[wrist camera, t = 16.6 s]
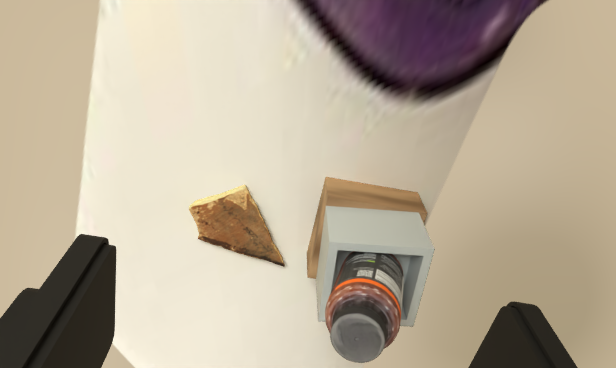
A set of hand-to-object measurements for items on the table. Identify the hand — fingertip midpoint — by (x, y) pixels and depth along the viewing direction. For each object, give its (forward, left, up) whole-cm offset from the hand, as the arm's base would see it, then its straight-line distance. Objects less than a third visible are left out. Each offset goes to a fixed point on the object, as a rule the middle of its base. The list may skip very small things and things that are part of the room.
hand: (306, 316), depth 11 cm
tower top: (+18, +11, -30) cm, 37 cm away
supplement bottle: (+18, +11, -26) cm, 34 cm away
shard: (+20, -2, -35) cm, 40 cm away
